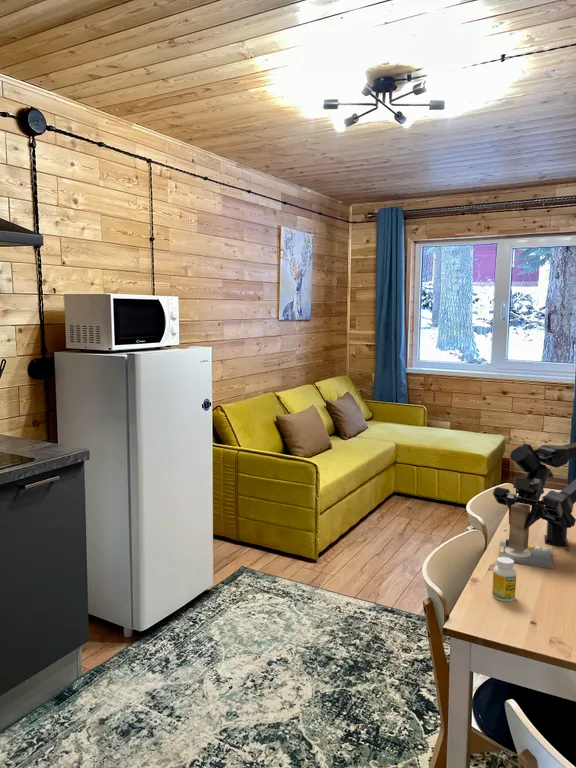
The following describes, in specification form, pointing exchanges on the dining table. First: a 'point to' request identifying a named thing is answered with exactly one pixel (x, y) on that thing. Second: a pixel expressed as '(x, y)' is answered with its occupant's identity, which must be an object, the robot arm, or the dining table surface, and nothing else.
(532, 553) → the panel
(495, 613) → the dining table surface
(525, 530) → the post
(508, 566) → the supplement bottle
